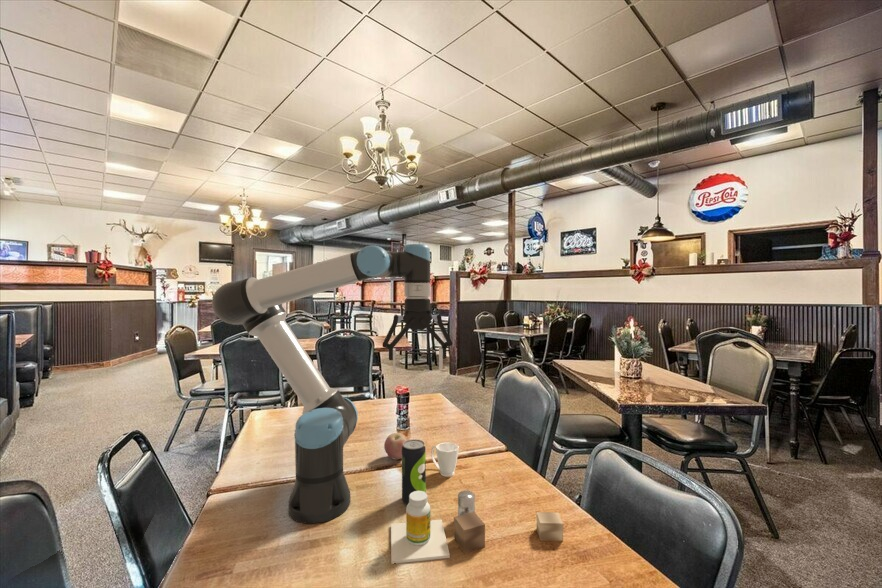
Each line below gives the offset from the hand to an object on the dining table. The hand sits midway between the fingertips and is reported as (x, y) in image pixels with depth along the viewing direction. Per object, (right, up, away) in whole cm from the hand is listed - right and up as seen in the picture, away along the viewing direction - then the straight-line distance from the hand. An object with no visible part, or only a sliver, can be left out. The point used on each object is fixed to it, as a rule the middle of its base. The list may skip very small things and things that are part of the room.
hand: (417, 370), depth 109 cm
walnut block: (+13, -32, -27) cm, 44 cm away
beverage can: (0, -32, -11) cm, 34 cm away
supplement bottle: (+2, -32, -26) cm, 41 cm away
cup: (+8, -32, +5) cm, 33 cm away
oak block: (+31, -32, -24) cm, 51 cm away
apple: (-8, -32, +14) cm, 35 cm away
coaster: (+2, -32, -26) cm, 42 cm away
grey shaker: (+13, -32, -19) cm, 39 cm away
